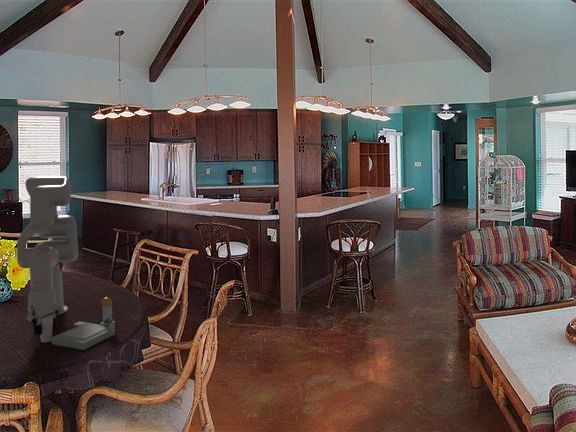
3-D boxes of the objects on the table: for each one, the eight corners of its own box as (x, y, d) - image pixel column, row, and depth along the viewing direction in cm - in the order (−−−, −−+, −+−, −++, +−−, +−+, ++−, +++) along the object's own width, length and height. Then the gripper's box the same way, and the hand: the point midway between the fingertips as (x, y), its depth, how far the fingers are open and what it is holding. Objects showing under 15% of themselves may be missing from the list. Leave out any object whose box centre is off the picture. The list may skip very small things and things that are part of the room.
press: (38, 341, 200) (37, 333, 200) (79, 323, 219) (78, 316, 219) (83, 349, 192) (83, 342, 192) (121, 330, 212) (121, 323, 211)
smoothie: (36, 345, 197) (33, 308, 195) (37, 339, 203) (34, 303, 200) (55, 342, 199) (53, 306, 197) (55, 336, 205) (52, 301, 203)
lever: (100, 328, 211) (98, 298, 209) (107, 324, 215) (105, 295, 213) (108, 329, 209) (107, 299, 208) (115, 326, 213) (114, 296, 211)
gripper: (52, 278, 207) (55, 323, 210) (14, 289, 191) (18, 338, 194) (67, 280, 204) (70, 325, 207) (30, 292, 188) (34, 340, 191)
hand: (45, 331), depth 200 cm, fingers closed on smoothie, 5 cm apart
